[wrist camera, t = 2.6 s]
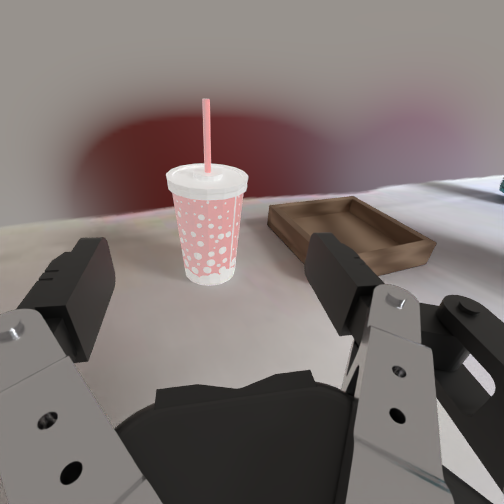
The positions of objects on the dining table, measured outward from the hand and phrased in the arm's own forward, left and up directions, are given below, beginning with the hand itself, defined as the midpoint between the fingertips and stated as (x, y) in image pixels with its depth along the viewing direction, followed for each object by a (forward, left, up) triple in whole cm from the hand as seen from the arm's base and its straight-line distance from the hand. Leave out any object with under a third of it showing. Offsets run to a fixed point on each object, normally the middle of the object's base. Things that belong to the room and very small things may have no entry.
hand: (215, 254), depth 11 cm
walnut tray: (-21, +2, -9) cm, 23 cm away
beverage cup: (-9, -7, -10) cm, 15 cm away
